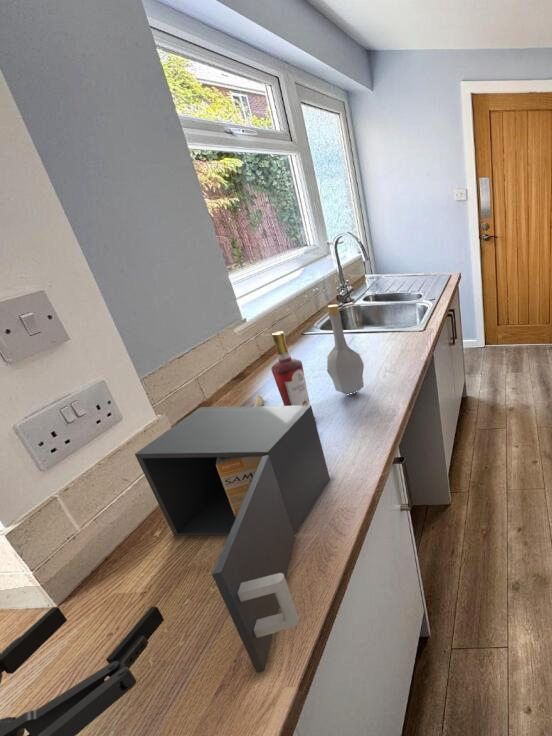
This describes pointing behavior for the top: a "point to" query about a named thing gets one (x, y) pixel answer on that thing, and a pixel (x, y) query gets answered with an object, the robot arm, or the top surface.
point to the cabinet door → (258, 566)
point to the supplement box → (237, 477)
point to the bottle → (343, 359)
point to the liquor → (289, 375)
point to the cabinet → (233, 439)
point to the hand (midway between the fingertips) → (109, 613)
